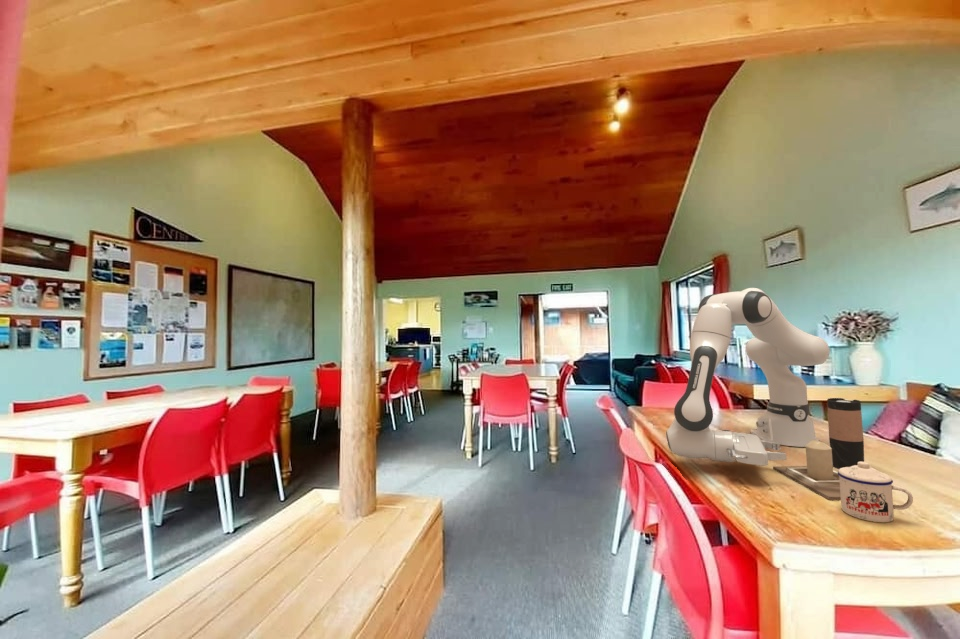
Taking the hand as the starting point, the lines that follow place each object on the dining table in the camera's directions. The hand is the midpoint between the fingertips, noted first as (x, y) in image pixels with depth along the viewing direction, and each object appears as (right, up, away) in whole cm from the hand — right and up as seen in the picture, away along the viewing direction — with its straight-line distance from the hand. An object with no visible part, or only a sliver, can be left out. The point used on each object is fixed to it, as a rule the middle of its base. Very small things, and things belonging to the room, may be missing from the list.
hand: (782, 451), depth 114 cm
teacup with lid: (+3, -7, -24) cm, 25 cm away
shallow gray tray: (+8, -7, -4) cm, 11 cm away
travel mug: (+24, -7, +5) cm, 25 cm away
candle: (+8, -6, -3) cm, 11 cm away
